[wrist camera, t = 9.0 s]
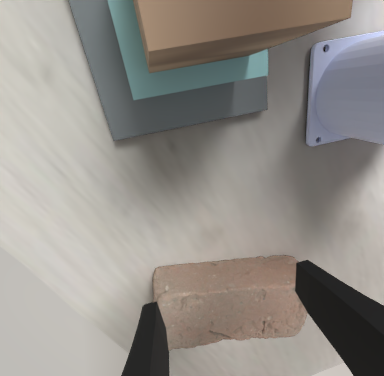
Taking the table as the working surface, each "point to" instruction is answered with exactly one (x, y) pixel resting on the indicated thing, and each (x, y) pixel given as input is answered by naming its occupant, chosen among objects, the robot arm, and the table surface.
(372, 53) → the robot arm
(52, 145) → the table surface
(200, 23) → the walnut block
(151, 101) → the baseplate
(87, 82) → the table surface
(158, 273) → the brick
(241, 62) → the base brick
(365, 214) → the table surface
